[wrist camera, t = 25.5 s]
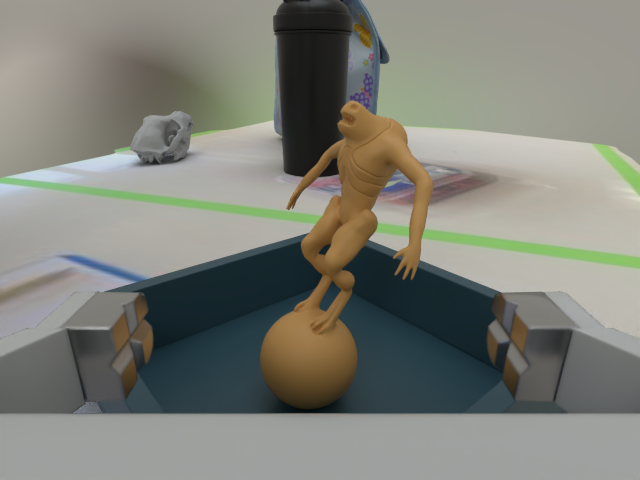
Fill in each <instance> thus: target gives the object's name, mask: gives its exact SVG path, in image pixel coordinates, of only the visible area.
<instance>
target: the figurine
mask: <svg viewBox="0 0 640 480" xmlns="http://www.w3.org/2000/svg"><path fill="white" fill-rule="evenodd" d="M341 114H342V115H343V120H340V121H339V123H338V128H339V131H340V132H341V133H342V134H343V135H344V136H345V138H344V139H343V140H341V141H338V142H337V143H335V144H334V145H332V146H331V147H330V148H329V149H328V150H327V151H326V152H325V153H324V154H323V155H322V157H321V158H320V160H319V162H318V163H317V164H316V165H315V166H314V167H313V168H312V169H311V170H310V171H309V172H308V173H307V174H306V175H305V177H304V178H303V180H302V181H301V183H300V184H299V185H298V187H297V188H296V190H295V191H294V193H293V195H292V197H291V198H290V201H289V203H288V205H287V208H286V209H288V210H289V209H290V208H291V206H292V205H293V206H292V209H293V208H294V205H295V203H296V200H297V199H298V198H299V196H300V194H301V193H302V191H303V190H304V189H305V188H306V187H308V186H309V185H310V184H311V183H313V182H314V181H315V180H316V179H317V178H318V177H319V175H320V174H321V173H322V172H323V171H324V170H325V169H326V168H327V166H328V165H329V163H330V161H331V160H332V159H334V158H337V160H338V161H337V166H338V170H339V176H340V182H341V184H342V187H341V197H340V196H337V195H335V196H333V197H332V198H331V200H330V203H329V205H328V206H327V208H326V210H325V212H324V214H323V216H322V217H321V218H320V219H319V221H318V222H317V223H316V225H315V226H314V228H313V229H312V230H311V232H310V233H309V234H308V235H307V236H306V237H305V238H304V239H303V240H302V242H301V249H302V253H303V255H304V257H305V258H306V259H307V260H308V261H309V262H310V263H311V264H312V265H313V267H314V268H315V269H316V270H317V271H318V272H320V273H321V274H322V275H323V276H322V278H321V280H320V282H319V284H318V286H317V287H316V289H315V290H314V291H313V292H312V294H311V295H310V297H309V298H308V299H307V300H305V301H302V302H300V303H299V304H298V305H296V307H295V309H294V311H292V312H290V313H288V314H286V315H284V316H283V317H281V318H280V319H279V320H277V321H276V322H275V323H274V324H273V326H272V327H271V328H270V329H269V331H268V332H267V334H266V336H265V338H264V341H263V344H262V347H261V353H260V365H261V371H262V375H263V378H264V380H265V382H266V384H267V386H268V387H269V389H270V390H271V391H272V393H273V394H274V395H275V396H276V397H277V398H278V399H280V400H281V401H283V402H284V403H286V404H288V405H290V406H293V407H296V408H300V409H317V408H321V407H325V406H327V405H329V404H331V403H333V402H335V401H336V400H337V399H339V398H340V397H341V396H342V395H343V394H344V393H345V392H346V391H347V389H348V388H349V386H350V385H351V383H352V381H353V379H354V376H355V373H356V369H357V348H356V344H355V341H354V339H353V336H352V334H351V333H350V331H349V329H348V328H347V327H346V325H345V324H344V323H343V322H342V321H341V320H339V319H338V317H339V315H340V314H341V312H342V310H343V309H344V307H345V305H346V304H347V302H348V300H349V299H350V297H351V294H352V287H353V286H354V283H355V279H354V276H353V275H352V273H350V272H348V271H345V270H342V268H343V267H345V266H346V265H347V264H348V263H350V262H351V261H352V260H353V259H354V258H355V256H356V255H357V254H358V252H359V251H360V250H361V249H362V248H363V247H364V246H365V245H366V244H367V242H368V239H369V238H370V237H371V236H372V235H373V233H374V232H375V231H376V229H377V225H378V221H377V218H376V216H375V214H374V213H373V212H372V211H371V209H372V208H373V206H374V204H375V202H376V199H377V197H378V195H379V194H380V192H381V191H382V190H383V188H384V187H385V186H386V184H387V183H388V181H389V180H390V179H391V177H392V176H393V174H394V173H395V171H396V170H397V168H398V169H399V170H400V171H401V172H402V173H403V174H404V175H405V176H406V177H407V178H408V179H409V180H410V181H411V182H413V183H414V184H415V185H416V189H415V196H414V207H413V211H412V214H411V219H410V228H409V245H408V246H407V247H406V248H404V249H402V250H400V251H399V252H397V253H396V254H395V256H394V257H393V259H395V258H397V257H399V256H403V259H402V261H401V263H400V265H399V267H398V269H397V271H396V272H395V276H396V275H397V274H398V273H399V272H400V271H401V269H402V268H403V267H404V266H406V270H405V273H404V275H403V280H404V279H405V278H406V277H407V275H408V273H409V271H410V269H411V268H412V275H411V280H412V279H413V277H414V275H415V273H416V270H417V267H418V264H419V260H420V253H421V239H422V234H423V231H424V228H425V223H426V217H427V210H428V205H429V201H430V198H431V195H432V189H433V183H432V180H431V178H430V176H429V174H428V173H427V171H426V170H425V169H424V168H423V166H422V165H421V164H420V163H419V162H418V161H417V160H416V159H415V158H414V157H413V156H412V154H411V152H410V150H409V148H408V146H407V134H406V131H405V130H404V128H403V127H402V125H401V124H399V123H398V122H397V121H395V120H393V119H389V118H385V117H381V116H375V115H374V114H372V113H370V112H369V111H368V110H367V109H366V108H365V107H364V106H363V105H361V104H360V103H358V102H356V101H350V102H348V103H346V104H345V105H344V107H343V108H342V109H341ZM328 244H331V247H330V248H329V250H328V251H327V253H326V255H321V254H319V251H320V250H321V249H322V248H323V247H324V246H326V245H328ZM332 280H333V281H334V283H335V284H336V285H337V286H338V287H339V288H340V289H342V290H341V292H340V293H339V294H338V296H337V297H336V299H335V300H334V302H333V303H332V304H331V306H330V307H329V309H328V310H327V311H323V310H321V309H320V307H319V305H320V303H321V301H322V299H323V297H324V295H325V293H326V292H327V290H328V288H329V286H330V284H331V282H332Z"/></svg>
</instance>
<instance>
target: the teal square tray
mask: <svg viewBox="0 0 640 480" xmlns="http://www.w3.org/2000/svg"><path fill="white" fill-rule="evenodd" d="M308 234H309V233H307V234H304V235H300V236H297V237H293V238H290V239H286V240H283V241H280V242H276V243H273V244H269V245H266V246H262V247H259V248H255V249H252V250H248V251H245V252H241V253H238V254H234V255H231V256H227V257H224V258H220V259H217V260H213V261H210V262H206V263H203V264H199V265H196V266H192V267H189V268H185V269H182V270H178V271H175V272H171V273H168V274H164V275H161V276H157V277H154V278H150V279H147V280H143V281H140V282H136V283H133V284H129V285H126V286H122V287H119V288H115V289H112V290H109V291H105V292H128V293H143V294H144V295H145V296H146V297H147V301H148V306H149V311H148V313H147V314H146V316H145V317H144V319H145V320H146V321H147V322H148V323H149V324H150V325H151V326H152V330H153V350H152V354H151V358H150V360H149V362H148V363H147V365H146V367H144V368H142V369H141V370H139V371H138V372H137V376H138V381H137V382H136V384H135V386H134V387H133V389H132V391H131V392H130V394H129V396H128V397H127V399H126V401H97V402H98V404H99V406H100V408H101V410H102V412H103V413H567V412H565V411H564V410H563V409H561V408H560V407H559V406H557V405H556V404H555V402H545V401H514V399H513V397H512V396H511V394H510V392H509V391H508V389H507V387H506V386H505V384H504V382H503V381H502V376H503V372H502V371H501V370H499V369H498V368H496V367H494V365H493V363H492V362H491V360H490V357H489V354H488V351H487V341H486V338H487V330H488V326H489V325H490V324H491V323H492V322H493V321H494V320H495V319H496V317H495V316H494V314H493V313H492V311H491V306H492V300H493V298H494V296H495V294H497V293H501V292H499V291H496V290H494V289H491V288H489V287H486V286H484V285H481V284H479V283H476V282H473V281H471V280H468V279H466V278H463V277H461V276H458V275H456V274H453V273H451V272H448V271H446V270H443V269H441V268H438V267H435V266H433V265H430V264H428V263H425V262H423V261H420V260H419V264H418V267H417V270H416V273H415V275H414V277H413V279H412V280H411V275H412V268H411V269H410V271H409V273H408V275H407V277H406V278H405V279H404V280H403V275H404V273H405V270H406V266H404V267H403V268H402V269H401V271H400V272H399V273H398V274H397V275H396V276H395V272H396V271H397V269H398V267H399V265H400V263H401V261H402V259H403V256H399V257H397V258H395V259H393V257H394V256H395V254H396V253H397V252H398V251H395V250H392V249H390V248H387V247H385V246H382V245H380V244H377V243H375V242H372V241H370V240H368V242H367V244H366V245H365V246H364V247H363V248H362V249H361V250H360V251H359V252H358V254H357V255H356V256H355V258H354V259H353V260H352V261H351V262H350V263H348V264H347V265H346V266H345V267H343V268H342V270H345V271H348V272H350V273H352V275H353V276H354V279H355V283H354V286H353V287H352V294H351V297H350V299H349V300H348V302H347V304H346V305H345V307H344V309H343V310H342V312H341V314H340V315H339V317H338V319H339V320H341V321H342V322H343V323H344V324H345V325H346V327H347V328H348V329H349V331H350V333H351V334H352V336H353V339H354V341H355V344H356V348H357V369H356V373H355V376H354V379H353V381H352V383H351V385H350V386H349V388H348V389H347V391H346V392H345V393H344V394H343V395H342V396H341V397H340V398H339V399H337V400H336V401H335V402H333V403H331V404H329V405H327V406H325V407H321V408H317V409H300V408H296V407H293V406H290V405H288V404H286V403H284V402H283V401H281V400H280V399H278V398H277V397H276V396H275V395H274V394H273V393H272V391H271V390H270V389H269V387H268V386H267V384H266V382H265V380H264V378H263V375H262V371H261V365H260V353H261V347H262V344H263V341H264V338H265V336H266V334H267V332H268V331H269V329H270V328H271V327H272V326H273V324H274V323H275V322H276V321H277V320H279V319H280V318H281V317H283V316H284V315H286V314H288V313H290V312H292V311H294V309H295V307H296V305H298V304H299V303H300V302H302V301H305V300H307V299H308V298H309V297H310V295H311V294H312V292H313V291H314V290H315V289H316V287H317V286H318V284H319V282H320V280H321V278H322V276H323V275H322V274H321V273H320V272H318V271H317V270H316V269H315V268H314V267H313V265H312V264H311V263H310V262H309V261H308V260H307V259H306V258H305V257H304V255H303V253H302V249H301V242H302V240H303V239H304V238H305V237H306V236H307V235H308ZM330 247H331V244H328V245H326V246H324V247H323V248H322V249H321V250H320V251H319V254H321V255H326V253H327V251H328V250H329V248H330ZM341 290H342V289H340V288H339V287H338V286H337V285H336V284H335V283H334V281H333V280H332V282H331V284H330V286H329V288H328V290H327V292H326V293H325V295H324V297H323V299H322V301H321V303H320V305H319V307H320V309H321V310H323V311H327V310H328V309H329V307H330V306H331V304H332V303H333V302H334V300H335V299H336V297H337V296H338V294H339V293H340V292H341Z"/></svg>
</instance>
